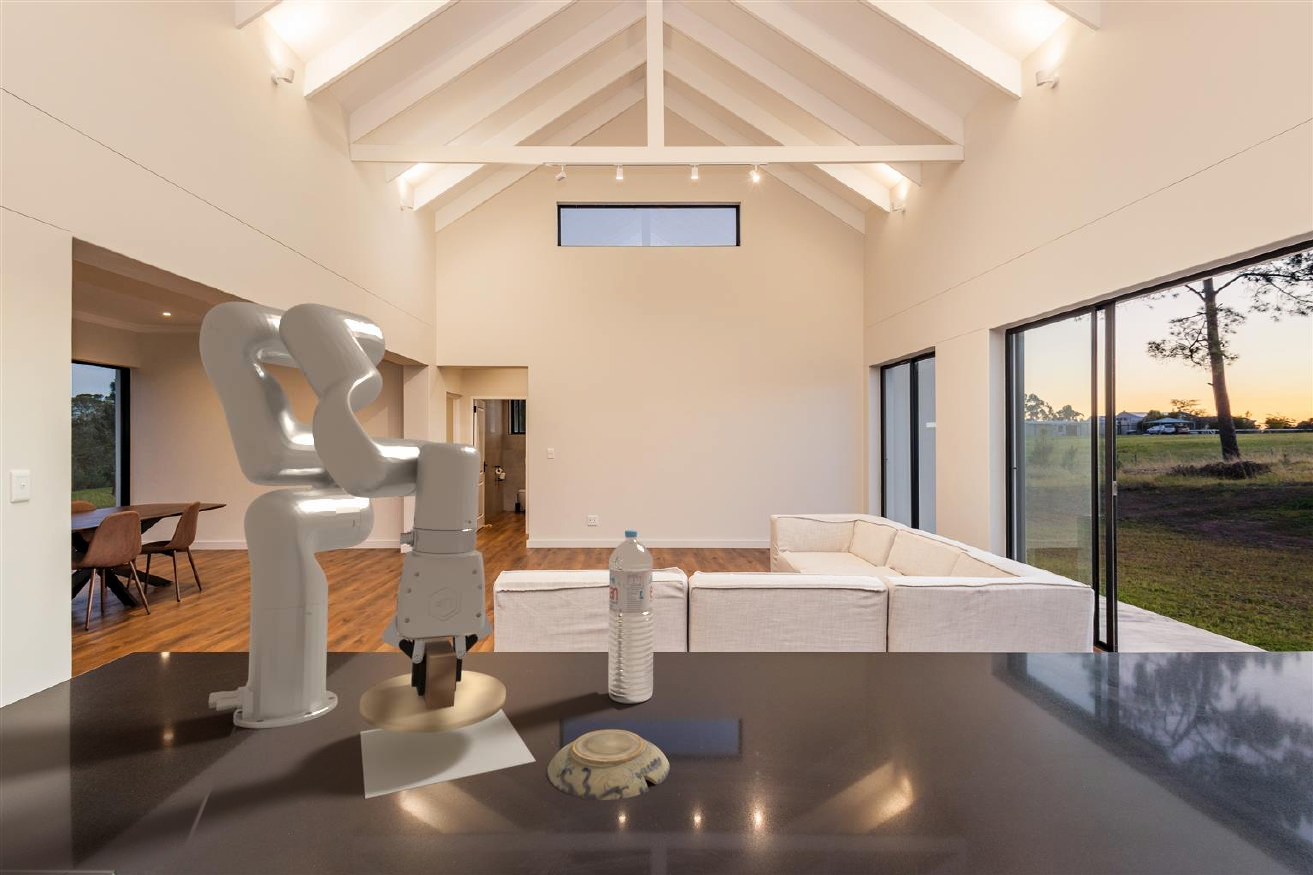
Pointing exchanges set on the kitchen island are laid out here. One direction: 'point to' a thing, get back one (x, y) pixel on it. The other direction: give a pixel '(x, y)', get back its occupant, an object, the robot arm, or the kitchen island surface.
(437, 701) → the lid
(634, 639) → the water bottle
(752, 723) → the kitchen island surface
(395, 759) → the mat
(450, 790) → the kitchen island surface
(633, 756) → the decorative bowl
